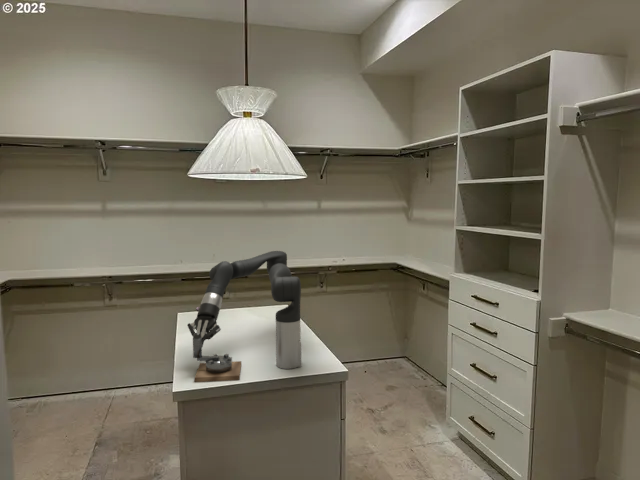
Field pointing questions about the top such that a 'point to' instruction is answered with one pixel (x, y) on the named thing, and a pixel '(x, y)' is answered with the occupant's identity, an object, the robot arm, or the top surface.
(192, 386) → the top surface
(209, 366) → the grey bent piece
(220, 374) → the walnut cap plate
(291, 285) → the robot arm
